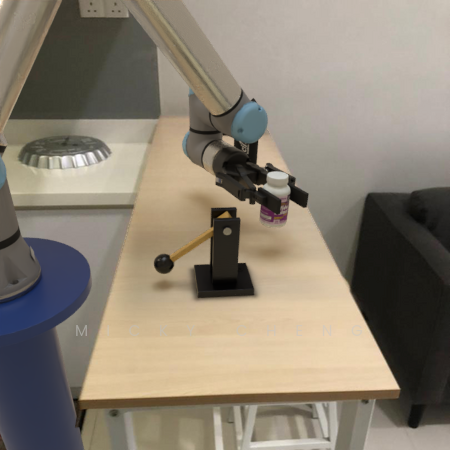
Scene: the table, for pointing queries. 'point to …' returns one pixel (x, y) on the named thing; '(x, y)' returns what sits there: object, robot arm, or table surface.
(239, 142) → the beverage can
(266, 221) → the pill bottle
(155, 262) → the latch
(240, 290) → the stand
